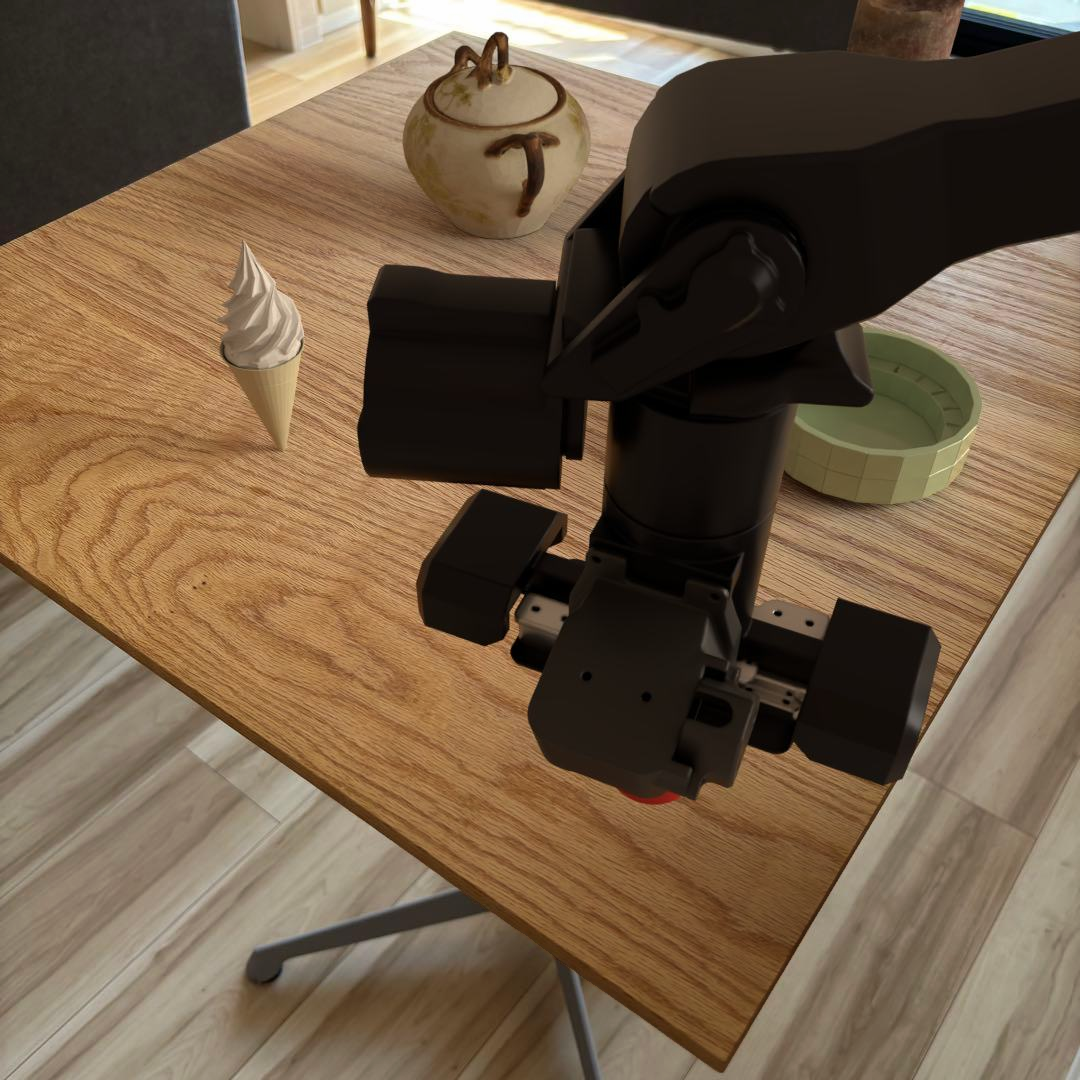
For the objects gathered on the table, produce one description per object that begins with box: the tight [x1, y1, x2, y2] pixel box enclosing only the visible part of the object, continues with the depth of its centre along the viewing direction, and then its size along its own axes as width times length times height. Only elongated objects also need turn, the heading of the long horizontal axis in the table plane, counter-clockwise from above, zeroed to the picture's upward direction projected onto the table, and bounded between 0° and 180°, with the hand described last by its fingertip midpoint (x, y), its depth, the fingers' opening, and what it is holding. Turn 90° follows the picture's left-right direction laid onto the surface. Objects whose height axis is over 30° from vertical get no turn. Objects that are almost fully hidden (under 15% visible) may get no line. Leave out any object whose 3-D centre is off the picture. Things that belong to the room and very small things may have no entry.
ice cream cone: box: [215, 240, 306, 452], centre depth 68 cm, size 5×5×15 cm
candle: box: [846, 0, 966, 61], centre depth 85 cm, size 8×7×20 cm
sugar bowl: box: [402, 31, 592, 240], centre depth 90 cm, size 20×15×15 cm
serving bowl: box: [783, 326, 984, 506], centre depth 73 cm, size 13×13×4 cm
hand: (652, 752), depth 48 cm, fingers closed on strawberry, 4 cm apart
